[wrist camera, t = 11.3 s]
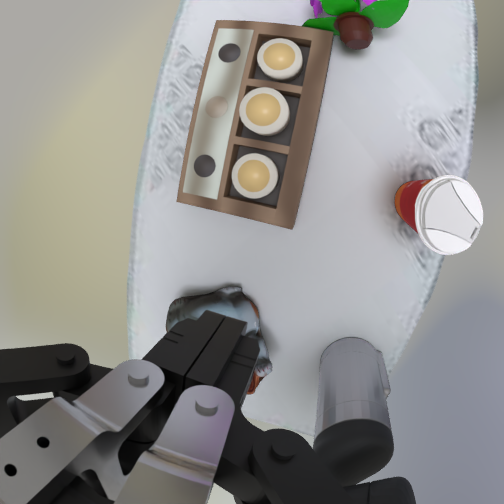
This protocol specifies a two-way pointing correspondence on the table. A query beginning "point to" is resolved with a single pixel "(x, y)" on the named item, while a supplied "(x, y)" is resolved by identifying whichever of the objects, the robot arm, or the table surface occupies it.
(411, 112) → the table surface
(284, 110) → the button mid
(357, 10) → the purple flower sprig
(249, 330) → the lucky cat figurine
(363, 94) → the table surface
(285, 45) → the button
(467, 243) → the paper cup
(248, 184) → the button
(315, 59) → the wooden candle tray
